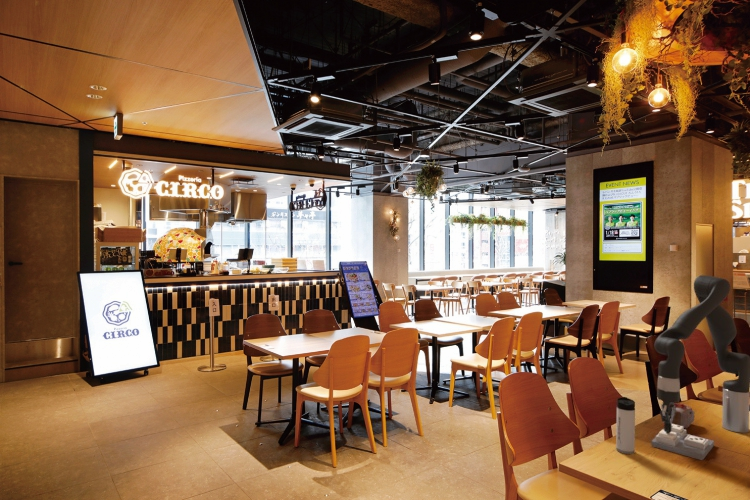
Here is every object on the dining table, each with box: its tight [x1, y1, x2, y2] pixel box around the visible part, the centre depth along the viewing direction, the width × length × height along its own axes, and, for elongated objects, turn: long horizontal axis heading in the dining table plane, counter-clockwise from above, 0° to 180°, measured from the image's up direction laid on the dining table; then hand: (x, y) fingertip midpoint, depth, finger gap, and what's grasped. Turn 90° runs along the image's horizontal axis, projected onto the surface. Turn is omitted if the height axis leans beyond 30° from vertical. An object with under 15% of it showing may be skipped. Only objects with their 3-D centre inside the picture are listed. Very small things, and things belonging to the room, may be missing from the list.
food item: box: [671, 402, 695, 429], centre depth 208 cm, size 14×8×10 cm, turn 129°
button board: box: [650, 428, 715, 461], centre depth 186 cm, size 19×17×4 cm
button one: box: [658, 428, 677, 440], centre depth 186 cm, size 5×5×2 cm
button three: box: [687, 435, 706, 443], centre depth 183 cm, size 5×5×2 cm
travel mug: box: [615, 396, 636, 455], centre depth 181 cm, size 6×7×20 cm
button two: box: [672, 424, 684, 433], centre depth 193 cm, size 5×5×2 cm
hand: (667, 431), depth 185 cm, fingers closed
